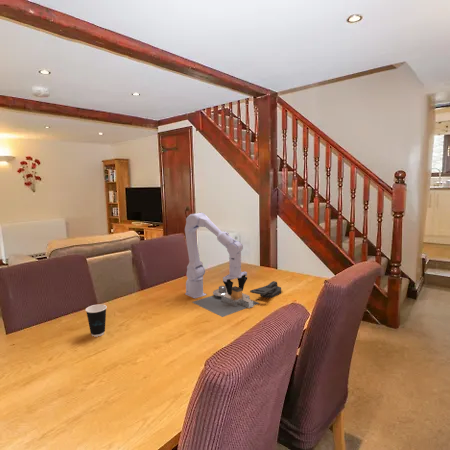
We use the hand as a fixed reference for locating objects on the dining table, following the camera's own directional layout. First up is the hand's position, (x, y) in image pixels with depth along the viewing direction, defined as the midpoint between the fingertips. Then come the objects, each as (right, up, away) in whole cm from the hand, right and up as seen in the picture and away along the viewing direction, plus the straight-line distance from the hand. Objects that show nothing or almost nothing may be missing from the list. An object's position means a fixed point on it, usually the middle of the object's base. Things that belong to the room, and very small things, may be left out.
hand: (235, 292), depth 161 cm
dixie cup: (-56, -10, -32) cm, 65 cm away
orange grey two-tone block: (+1, -5, 0) cm, 5 cm away
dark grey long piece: (+17, -4, +8) cm, 19 cm away
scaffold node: (-1, -4, +2) cm, 5 cm away
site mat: (-5, -5, -1) cm, 7 cm away
